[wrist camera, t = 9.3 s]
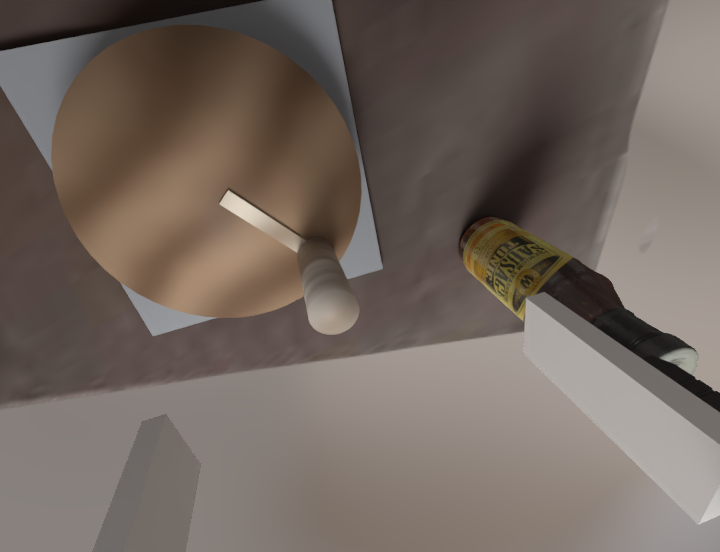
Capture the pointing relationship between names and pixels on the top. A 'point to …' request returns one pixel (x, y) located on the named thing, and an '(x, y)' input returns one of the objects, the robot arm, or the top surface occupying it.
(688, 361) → the sauce bottle
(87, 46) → the wheel stand
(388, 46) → the top surface
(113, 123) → the handwheel
